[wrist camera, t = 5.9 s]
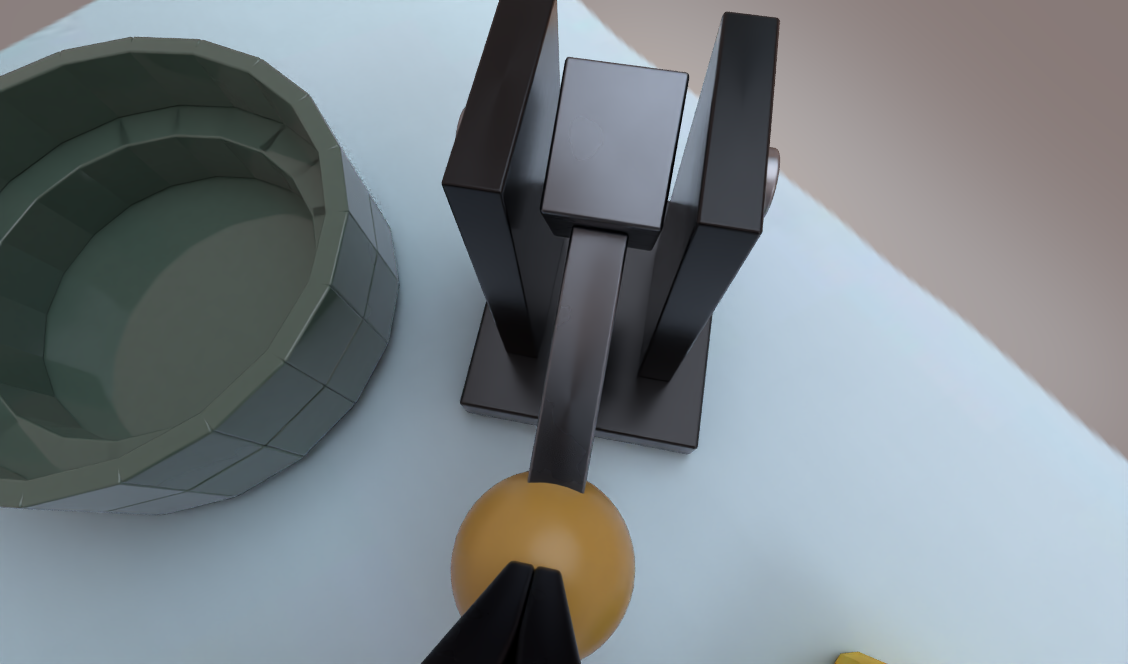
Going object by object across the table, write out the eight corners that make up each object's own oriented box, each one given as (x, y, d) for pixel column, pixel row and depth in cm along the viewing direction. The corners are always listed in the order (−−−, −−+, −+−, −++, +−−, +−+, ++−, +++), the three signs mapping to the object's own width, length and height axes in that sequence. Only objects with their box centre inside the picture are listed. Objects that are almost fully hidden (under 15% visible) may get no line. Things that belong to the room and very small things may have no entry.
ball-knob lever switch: (689, 455, 17) (828, 359, 8) (466, 412, 17) (341, 275, 8) (716, 227, 19) (842, -49, 10) (521, 197, 20) (474, -90, 11)
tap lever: (617, 624, 13) (619, 740, 9) (464, 590, 13) (407, 689, 9) (702, 138, 12) (740, 59, 9) (546, 115, 13) (521, 30, 9)
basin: (431, 451, 17) (376, 420, 12) (-16, 564, 16) (-260, 577, 11) (376, 116, 21) (320, -2, 17) (23, 190, 21) (-140, 89, 16)
